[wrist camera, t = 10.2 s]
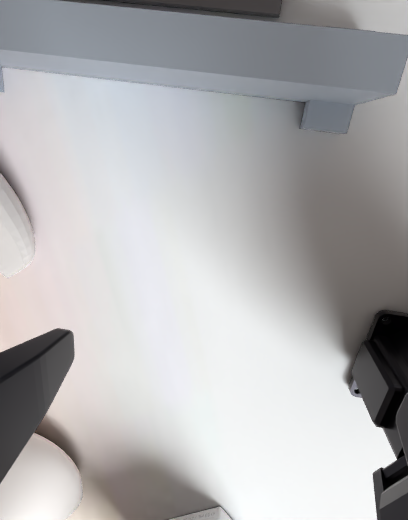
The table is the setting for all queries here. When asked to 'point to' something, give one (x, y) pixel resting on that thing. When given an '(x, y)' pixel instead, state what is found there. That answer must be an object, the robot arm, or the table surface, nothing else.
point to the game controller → (14, 233)
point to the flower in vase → (40, 484)
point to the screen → (207, 54)
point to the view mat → (220, 5)
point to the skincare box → (206, 515)
